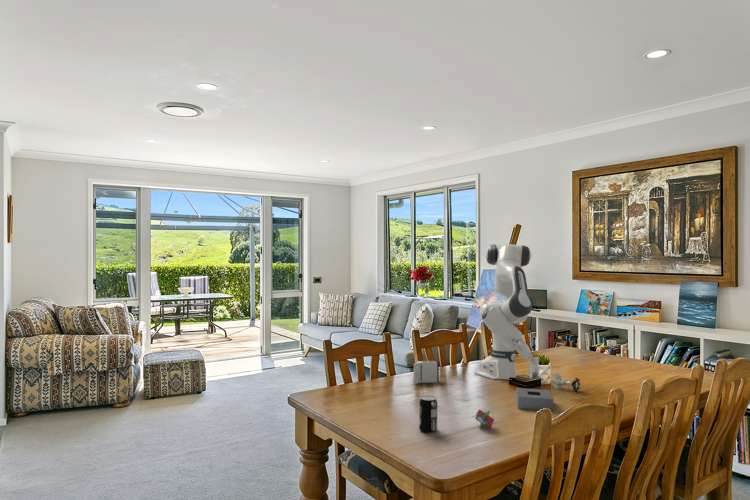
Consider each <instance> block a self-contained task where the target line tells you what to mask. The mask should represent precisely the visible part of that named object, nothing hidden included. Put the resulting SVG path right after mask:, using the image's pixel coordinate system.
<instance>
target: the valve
mask: <svg viewBox="0 0 750 500" xmlns="http://www.w3.org/2000/svg"><path fill="white" fill-rule="evenodd" d="M580 381H581V379H580V378H578V377H575V379H574V380H572V382H571V381H569V380H568V381H567V380H566V379H565V378H563V379H562V374H560V373H553V378H552V385H553V389H557V390H558V389H559V390H561V389H562V387H565V386H571V387H572V388H573V392H576V393H579V390H580V386H581V383H580Z"/></svg>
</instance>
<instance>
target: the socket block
mask: <svg viewBox="0 0 750 500" xmlns="http://www.w3.org/2000/svg"><path fill="white" fill-rule="evenodd" d="M515 401H516V406H517V409H518V410H528V409H531V411H541V410H540V409H543V408H549V409H550V410H551V411H550V412H554V398H553V396H552V393H551V391H550V389H540V388H539V389H537V388H536V389H535V388H524V387H522V388H521V387H520V388H519V387H516V388H515ZM534 409H535V410H534Z"/></svg>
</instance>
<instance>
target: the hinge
mask: <svg viewBox="0 0 750 500" xmlns="http://www.w3.org/2000/svg"><path fill="white" fill-rule="evenodd" d="M439 366H440V362H439V361H437V360H422V361H421V360H420V361H419V360H417V361H416V363H414V362H413V385H417V384H421V383H423V384H424V383H439V382H440V379H439V378H440V372H439V371H440V367H439Z"/></svg>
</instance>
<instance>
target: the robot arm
mask: <svg viewBox="0 0 750 500" xmlns="http://www.w3.org/2000/svg"><path fill="white" fill-rule="evenodd" d="M485 259H486V263H488V265H492V266H495V267H496V268H495V275H494V291H495V293H496V294H497V295H499V296H501V297H503V302H488V303H484V304H482V305H481V307H480V309H479V316H480V319H481V320H482V322H483V323H484V325H485V326H486V327H487V328H488V330H489V331H491V335H492V349H489V350H488V353H490V354H489V355H488V356H487V357H486V358H484V359H483V360H481V361H480V363H479V366H478V369H476V370H475V371H474V374H476V375H477V376H482V377H486V378H488V379H491V380H510V379H509V378H510V377H515V376H518V374H517V369H516V352H517V353H518V354H519V355H520V356H521V357H522V358H523V359H524V360H525V361H528V360H529V362H530V361H532V362H533V363H534V364H536V363H537V362H538V361H537V360H536V359H535V358H534V357H533V356H532V353H531V351H532V350H531V349H530V347H529V345H528V344H527V342H525V340H524V338H523V333H522V332H521V331H520V330H519V329H518V328H517V327H516V326H515V325H514V324H520V323H523V322H525V321H526V320H527V319H528V317H529V314H530V313H531V312H532V310H533V304H532V301H531V297H530V295H529V290H528V283H527V277H526V273H525V271H524V269H523V268H522V267H526V266H528V265H529V263H530V261H531V259H532V253H531V249H530V247H528V246H527V245H519V244H510V243H509V244H489V246H488V247H487V249H486V250H485Z"/></svg>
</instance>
